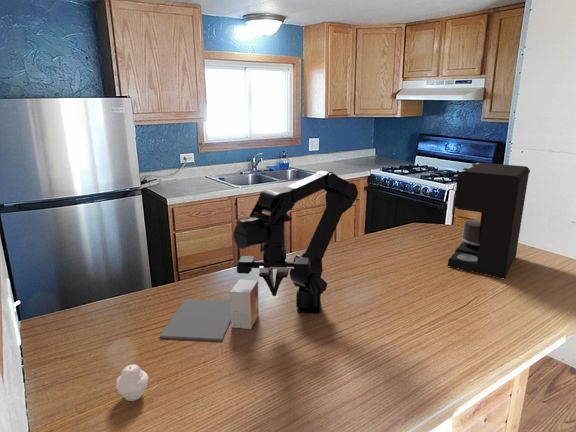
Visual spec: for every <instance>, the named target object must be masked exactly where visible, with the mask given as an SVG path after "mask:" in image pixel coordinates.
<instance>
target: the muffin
mask: <svg viewBox="0 0 576 432" xmlns="http://www.w3.org/2000/svg"><path fill="white" fill-rule="evenodd" d="M148 383H149V376H148V374H147V372H145V371H144V370H142V369H141V367H140V366H139V365H138V364H128V365H127V366H125V367H123V369H122V371H121V374H120V375H119V376H118V377H117V379H116V382H115V387H116V390H117V391H118V393H119V394H120V395H121V396H122V397H123V398H124V399H125V400H126V401H128V402H135V401H137V400H139V399H141V398H142V396H143V394H144V392H145V390H146V388H147V386H148Z"/></svg>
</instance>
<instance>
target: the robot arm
mask: <svg viewBox="0 0 576 432" xmlns="http://www.w3.org/2000/svg"><path fill="white" fill-rule="evenodd" d="M322 190H323V191H325V192H326V193H325V206H326V207H325V208H324V212H323V214H322V215H321V217H320V221H319V222H318V224H317V226H316V229H315V231H314V232H313V235H312V237H311V239H310V242H309V244H308V245H307V248H306V250H305V252H304V253H303V254H302V255H298V254H296V255H295V256H294V259H293V260H292V261H288V260H287V245H286V222H291V221H292V220H293V218H292V217H291V216H290V215H289V214H288V212H290V211H292V210H293V208H294V206H295V204H296V203H298V202H300V201H302V200H303V199H305V198H308V197H310V196H312V195H314V194H316V193H318V192H320V191H322ZM358 195H359V190H358V186H357V185H356V184H355V183H354V182H350V181H347V180H345V179H344V178H341V177H340V176H338V175H337V174H336V173H334V172H332V171H328V170H323V169H321V170H319V171H316V173H314V174H311V175H309V176H308V177H305V178H302V179H300V180H298V181H296V182H294V183H291V184H290V185H287V186H281V187H280V186H279V187H272V188H267V189H265V190H262V191H261V192H260V193H259V196H258V199H257V201H256V203H255V205H254V207H253V208H252V210H251V212H250V214H249V218H246V219H244V218H243V219H239V220H238V221H237V225H236V226H235V227H234V231H233V240H234V242H235V244H236V246H237V247H238V248H239V249H247V248H250V247H255V246H257V245H258V246H259V245H260V246H259V247H260V249H259V250H260V253H262V260H256V256H254V255H241V257H240V258H239V259H238V260H237V263H236V273H237V274H247V275H249V274H250V273H251V272H252V270H253V269H259V274H258V277H260V278H262V279H263V280H264V282H265V283H266V285H267V286H268V289H269V291H270V293H271V296H272V297H277V294H278V291H279V287H280V285H281V283H282V282H283V279H285V278H288V276H289V277H290V280H291V281H292V283H293V285H294V286H295V287H298V289H297V290H296V297H295V298H296V299H295V300H296V302H295V303H296V308H297V313H306V314H307V313H313V314H320V313H321V309H322V300H321V295H322V294H323V293H324V292H326V290H327V287H328V282H326V281H325V280H324V279H323V278H322V274H323V270H324V269H323V261H322V260H323V258H324V257H325V256H324V255H325V253H326V251H327V249H328V246H329V245H330V242H331V239H332V238H333V237H334V236H333V235H334V233H335V232H336V231H335V230H336V229H337V226H338V224H339V222H340V220H341V218H342V215H343V214H344V213H345V212H347V211H348V210H349V209H351V208H352V206H353V205H354V203H355V202H356V199H357V198H358ZM275 269H276V274H275V280H274V270H275Z"/></svg>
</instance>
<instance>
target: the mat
mask: <svg viewBox="0 0 576 432" xmlns="http://www.w3.org/2000/svg"><path fill="white" fill-rule="evenodd" d="M230 324H231V308H230V300H221V299H219V300H214V299H197V298H196V299H193V298H192V299H191V298H190V299H189V298H188V299H187V298H185V300H184V301H183V302H182V303H181V305H180V307H179V308H178V310H177V311H176V312H175V314H174V315H173V317H171V320H170V321H169V322H168V324H167V325H166V326H165V328H164V329H163V330H162V331H161V333H160V335H159V338H160V339H171V340H172V339H175V340H195V341H212V342H213V341H216V342H222V341H223V340H224V337H225V335H226V333H227V331H228V328H229V326H230Z"/></svg>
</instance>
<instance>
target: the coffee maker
mask: <svg viewBox="0 0 576 432" xmlns="http://www.w3.org/2000/svg"><path fill="white" fill-rule="evenodd" d="M530 173H531V169H529V167H528V166H525V165H514V164H513V165H512V164H499V163H487V162H476V163H472V164H471V165H470V166H468V167H463V169H462V170H461V171H460V172H458V174H457V179H456V187H455V194H454V207H455V208H456V209H457V210H461V211H467V212H476V213H481V215H480V219H468V220H467V219H466V220H464V222H463V229H462V236H461V243H460V245H458V246H457V248H456V249H455V251H454V252H453V254H452V255H451V256H450V257H449V258H448V259H447V267H448V266H450V267H449V268H451V267H455V268H459V269H458V270H460V269H463V270H462V271H464V270H468V271H467V272H469V271H473V272H472V273H474V272H478V273H482V274H481V275H483V274H487V275H491V276H490V277H492V276H495V277H494V278H496V277H499V278H498V279H501V278H504V279H503V280H505V279H506V278H507V276H508V274H507V273H509V272H508V271H510V270H511V268H512V266H513V264H514V262H515V260H516V256H517V251H518V245H519V238H520V232H521V225H522V219H523V212H524V207H525V201H526V195H527V187H528V181H529V177H530V176H529V174H530ZM465 218H467V217H466V216H465ZM514 259H515V260H514ZM513 261H514V262H513ZM512 263H513V264H512ZM511 265H512V266H511ZM510 267H511V268H510ZM455 268H454V269H455ZM509 269H510V270H509ZM478 273H477V274H478ZM487 275H486V276H487Z"/></svg>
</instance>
